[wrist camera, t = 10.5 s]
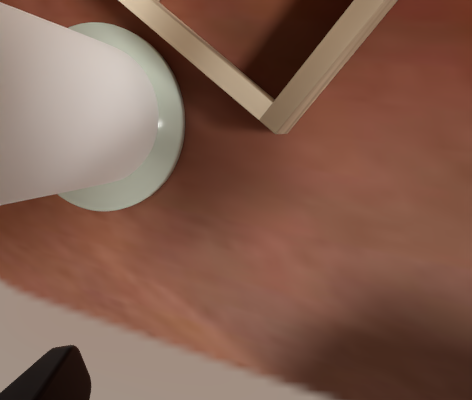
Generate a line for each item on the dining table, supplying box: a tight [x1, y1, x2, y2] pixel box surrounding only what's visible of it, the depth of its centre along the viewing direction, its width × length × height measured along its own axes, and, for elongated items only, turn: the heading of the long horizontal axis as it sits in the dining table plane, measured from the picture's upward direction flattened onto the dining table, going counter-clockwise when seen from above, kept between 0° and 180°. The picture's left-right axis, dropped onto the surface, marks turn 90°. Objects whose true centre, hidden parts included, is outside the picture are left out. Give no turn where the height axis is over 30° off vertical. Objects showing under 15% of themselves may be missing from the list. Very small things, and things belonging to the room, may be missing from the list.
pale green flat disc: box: [58, 22, 185, 211], centre depth 19 cm, size 9×9×1 cm
